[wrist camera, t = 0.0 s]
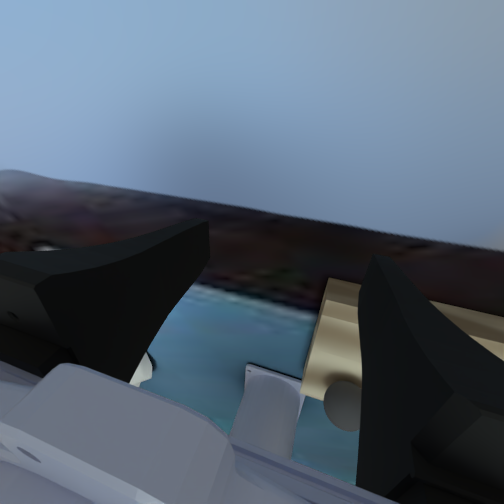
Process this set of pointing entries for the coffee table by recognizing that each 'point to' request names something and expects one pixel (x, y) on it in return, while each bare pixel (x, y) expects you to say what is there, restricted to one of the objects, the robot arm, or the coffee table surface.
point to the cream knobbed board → (348, 343)
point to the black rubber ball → (343, 405)
